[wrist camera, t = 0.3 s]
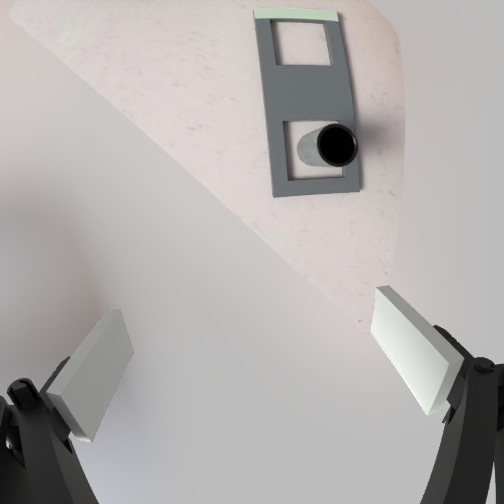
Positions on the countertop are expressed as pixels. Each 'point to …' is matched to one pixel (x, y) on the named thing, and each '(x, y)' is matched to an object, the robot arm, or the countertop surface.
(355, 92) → the countertop surface
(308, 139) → the grey hollow cylinder
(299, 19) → the panel
